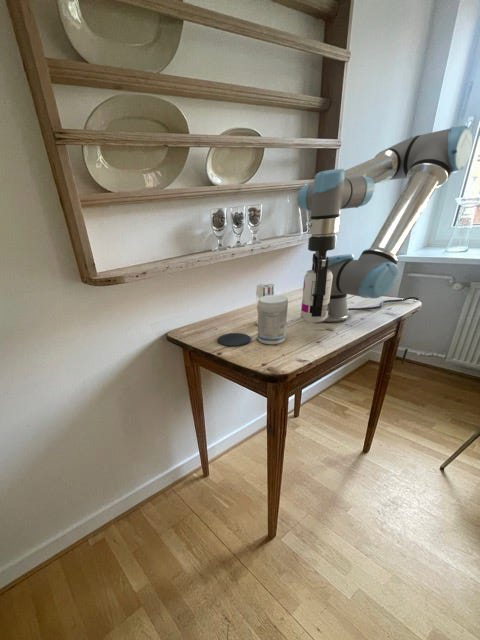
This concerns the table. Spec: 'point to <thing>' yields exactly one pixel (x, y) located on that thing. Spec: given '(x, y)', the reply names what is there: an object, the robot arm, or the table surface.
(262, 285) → the beer glass
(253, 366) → the table surface
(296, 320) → the table surface
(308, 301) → the supplement can
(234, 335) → the coaster
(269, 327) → the supplement tub
